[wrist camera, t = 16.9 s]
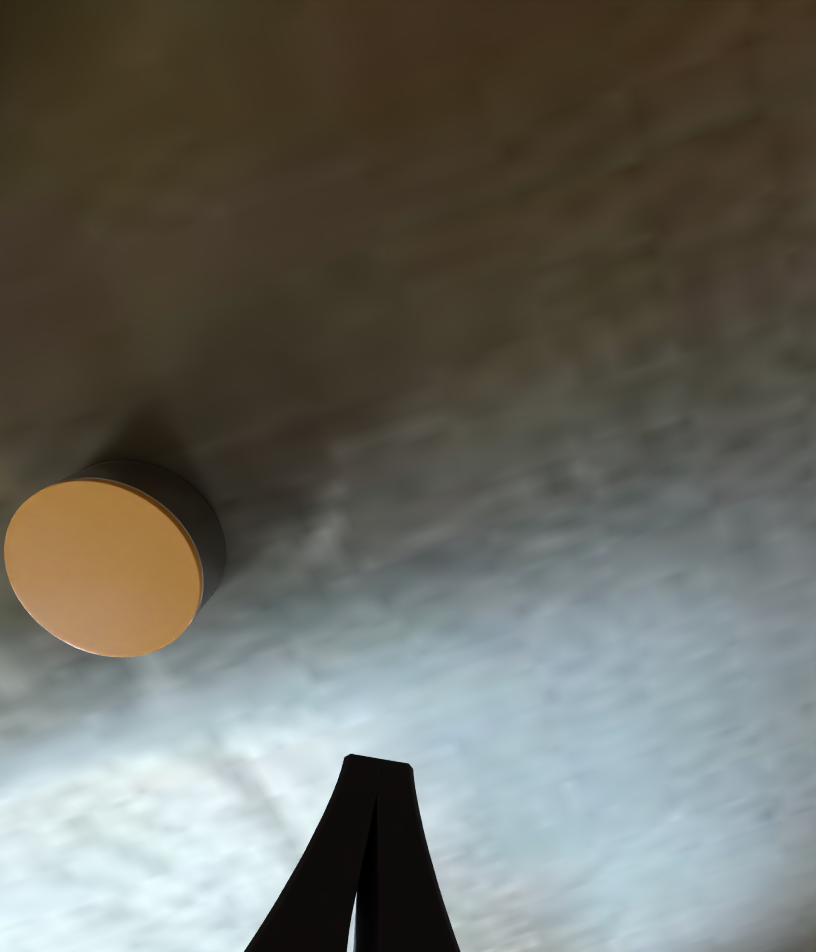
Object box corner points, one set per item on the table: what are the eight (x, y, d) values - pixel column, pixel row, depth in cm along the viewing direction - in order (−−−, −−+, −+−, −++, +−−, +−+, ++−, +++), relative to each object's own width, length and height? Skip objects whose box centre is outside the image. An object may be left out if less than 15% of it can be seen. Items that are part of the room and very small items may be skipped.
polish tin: (41, 588, 22) (-7, 622, 19) (65, 433, 20) (15, 451, 17) (204, 640, 22) (177, 680, 20) (245, 496, 20) (220, 521, 18)
